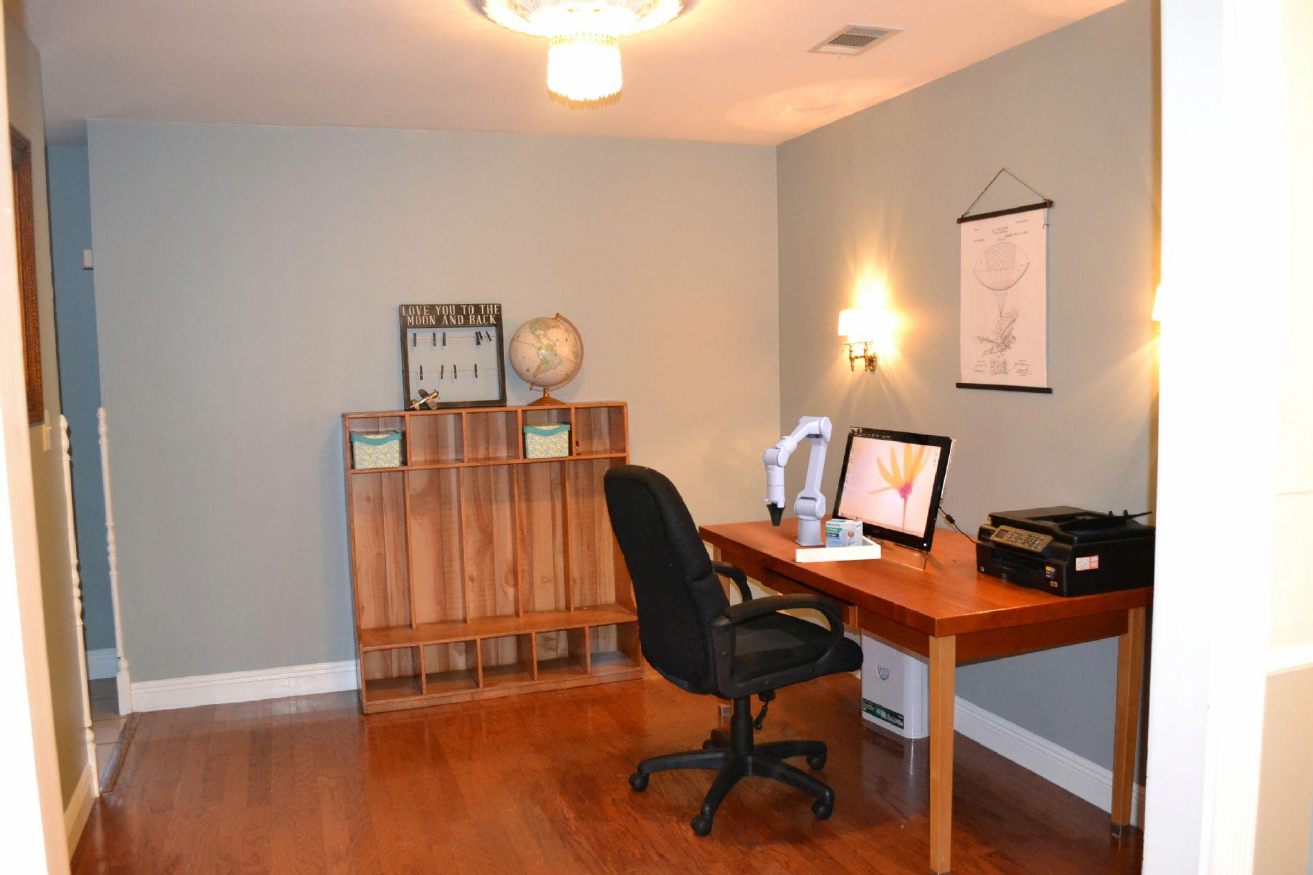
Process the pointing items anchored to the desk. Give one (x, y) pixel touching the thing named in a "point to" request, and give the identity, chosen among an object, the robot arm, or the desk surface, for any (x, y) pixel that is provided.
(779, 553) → the desk surface
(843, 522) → the light bulb box
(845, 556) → the corner walls
